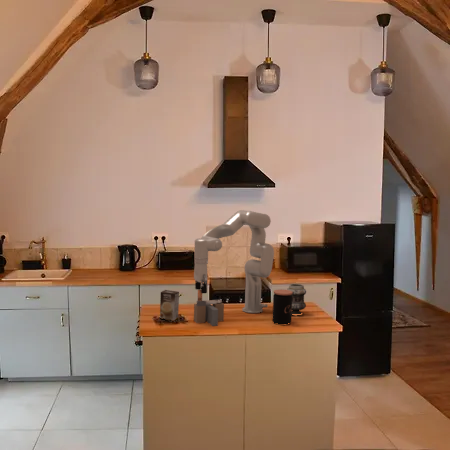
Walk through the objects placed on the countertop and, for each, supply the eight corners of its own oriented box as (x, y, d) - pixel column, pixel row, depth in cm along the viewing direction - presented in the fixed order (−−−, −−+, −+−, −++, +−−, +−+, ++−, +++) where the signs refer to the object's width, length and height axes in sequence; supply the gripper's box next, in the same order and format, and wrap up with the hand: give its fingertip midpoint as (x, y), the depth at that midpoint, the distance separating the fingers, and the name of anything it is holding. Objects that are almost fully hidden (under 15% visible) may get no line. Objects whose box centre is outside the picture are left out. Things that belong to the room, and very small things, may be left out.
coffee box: (159, 320, 287) (159, 291, 285) (164, 317, 293) (164, 289, 291) (174, 322, 284) (174, 293, 282) (178, 319, 290) (179, 291, 288)
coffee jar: (286, 326, 281) (287, 294, 279) (268, 323, 287) (270, 291, 285) (294, 322, 290) (295, 291, 288) (277, 319, 296) (278, 288, 294)
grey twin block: (215, 315, 300) (216, 294, 299) (228, 324, 281) (229, 302, 280) (189, 317, 294) (190, 296, 293) (201, 327, 275) (201, 304, 274)
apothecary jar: (298, 310, 316) (300, 282, 314) (309, 316, 305) (310, 286, 303) (281, 312, 311) (282, 283, 309) (291, 317, 300) (293, 287, 298)
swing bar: (220, 301, 291) (220, 288, 290) (222, 303, 288) (222, 289, 287) (196, 303, 286) (196, 289, 285) (198, 305, 283) (198, 290, 282)
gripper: (189, 258, 289) (189, 288, 291) (200, 264, 273) (199, 295, 275) (202, 257, 292) (202, 287, 294) (213, 263, 276) (212, 294, 278)
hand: (201, 291), depth 284 cm, fingers open, 9 cm apart
